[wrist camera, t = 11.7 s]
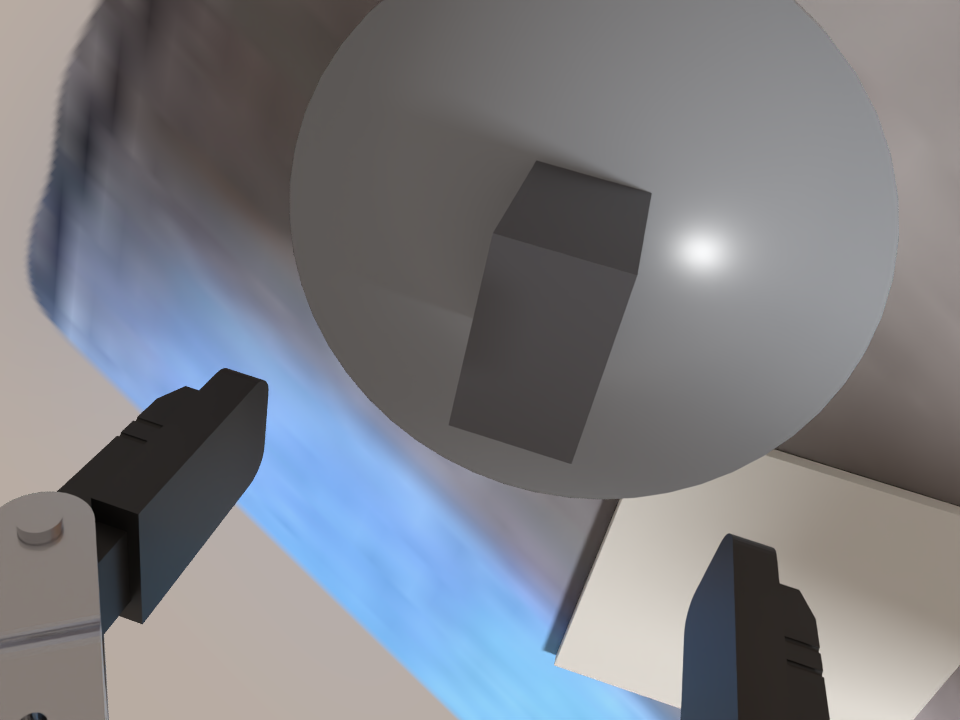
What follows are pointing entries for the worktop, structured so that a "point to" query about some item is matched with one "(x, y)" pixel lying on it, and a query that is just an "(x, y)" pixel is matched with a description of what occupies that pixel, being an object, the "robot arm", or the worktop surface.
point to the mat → (783, 582)
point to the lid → (594, 232)
